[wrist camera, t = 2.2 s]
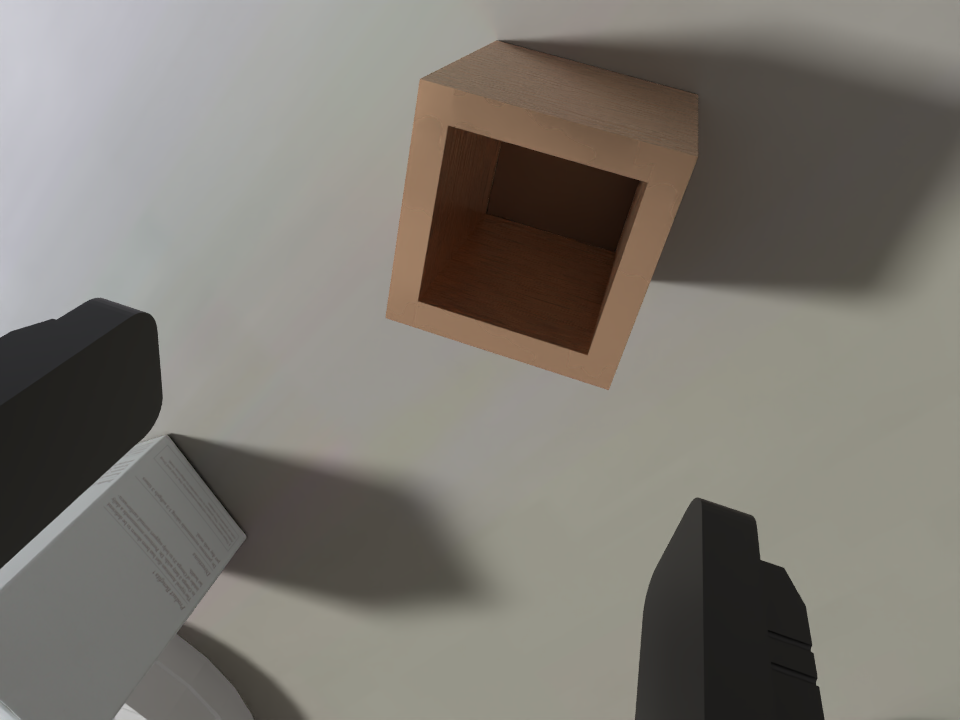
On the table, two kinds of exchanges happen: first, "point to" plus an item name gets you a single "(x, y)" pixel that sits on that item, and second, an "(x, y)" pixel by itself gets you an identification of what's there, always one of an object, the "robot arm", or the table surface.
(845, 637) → the table surface
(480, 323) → the wooden cubby box
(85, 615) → the supplement box
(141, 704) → the dish
